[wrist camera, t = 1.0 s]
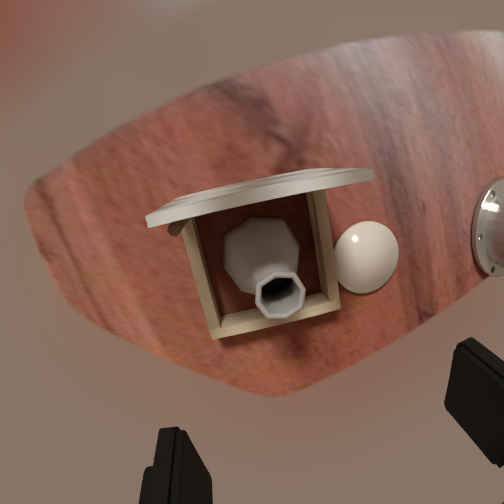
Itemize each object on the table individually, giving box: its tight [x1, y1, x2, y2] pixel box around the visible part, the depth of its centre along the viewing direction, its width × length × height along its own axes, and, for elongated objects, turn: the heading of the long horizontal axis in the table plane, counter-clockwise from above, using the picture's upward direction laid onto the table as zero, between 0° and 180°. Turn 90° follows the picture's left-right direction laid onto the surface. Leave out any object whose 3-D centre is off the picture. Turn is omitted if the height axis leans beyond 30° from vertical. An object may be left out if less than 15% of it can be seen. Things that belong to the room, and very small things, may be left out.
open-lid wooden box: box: [145, 168, 375, 340], centre depth 23 cm, size 12×13×12 cm
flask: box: [223, 217, 306, 319], centre depth 24 cm, size 7×7×10 cm
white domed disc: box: [334, 221, 398, 293], centre depth 29 cm, size 7×7×1 cm
